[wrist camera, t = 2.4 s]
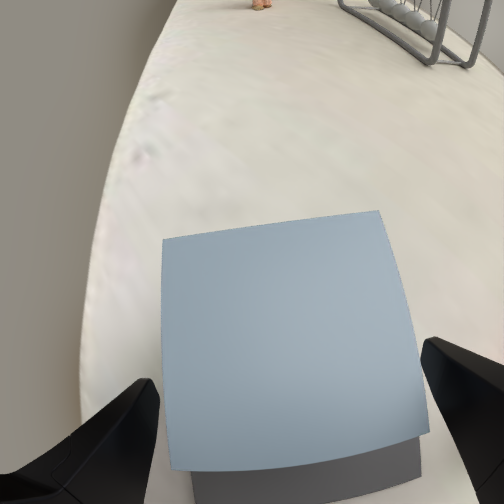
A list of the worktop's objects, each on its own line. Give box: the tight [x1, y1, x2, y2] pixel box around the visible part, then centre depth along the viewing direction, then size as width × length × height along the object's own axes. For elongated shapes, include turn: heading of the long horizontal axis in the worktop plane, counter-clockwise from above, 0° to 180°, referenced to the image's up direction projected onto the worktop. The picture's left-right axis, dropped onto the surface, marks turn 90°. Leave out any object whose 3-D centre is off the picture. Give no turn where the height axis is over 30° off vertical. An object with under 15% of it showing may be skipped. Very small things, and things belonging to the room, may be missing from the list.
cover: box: [161, 210, 430, 471], centre depth 12 cm, size 7×7×10 cm
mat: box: [191, 436, 421, 504], centre depth 16 cm, size 16×14×1 cm
